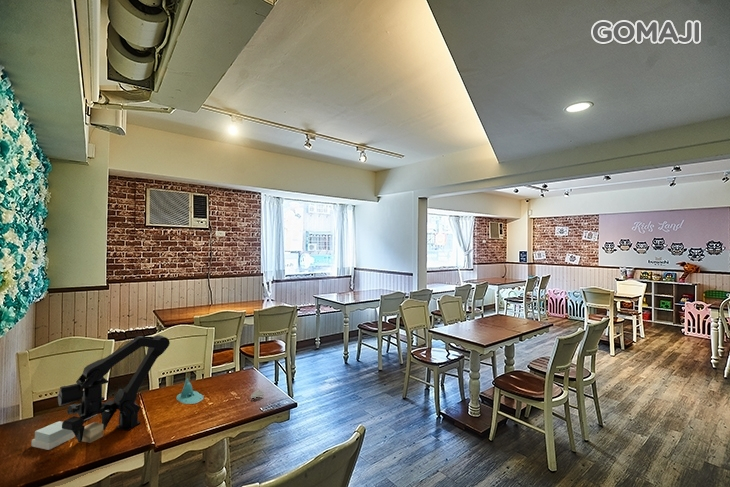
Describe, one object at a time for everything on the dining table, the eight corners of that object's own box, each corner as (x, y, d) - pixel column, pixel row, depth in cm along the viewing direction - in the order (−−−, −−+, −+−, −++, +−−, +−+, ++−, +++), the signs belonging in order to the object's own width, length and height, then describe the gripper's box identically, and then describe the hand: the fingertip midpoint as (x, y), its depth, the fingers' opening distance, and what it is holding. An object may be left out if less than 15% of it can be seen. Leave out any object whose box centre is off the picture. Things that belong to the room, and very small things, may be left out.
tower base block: (74, 438, 136) (74, 431, 136) (48, 451, 127) (49, 443, 127) (57, 435, 138) (58, 427, 138) (31, 447, 129) (31, 439, 129)
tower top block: (72, 432, 135) (72, 424, 135) (48, 442, 128) (49, 434, 128) (59, 428, 138) (59, 421, 138) (34, 438, 130) (35, 431, 130)
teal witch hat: (184, 408, 162) (184, 390, 162) (170, 395, 175) (171, 378, 176) (210, 400, 171) (210, 383, 171) (195, 388, 184) (195, 372, 184)
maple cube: (103, 436, 137) (103, 423, 137) (90, 443, 132) (90, 430, 132) (93, 434, 138) (93, 422, 138) (80, 441, 133) (80, 428, 133)
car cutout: (262, 395, 178) (262, 386, 178) (265, 400, 172) (265, 391, 172) (232, 401, 170) (232, 392, 170) (234, 406, 165) (234, 397, 165)
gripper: (100, 385, 146) (99, 421, 146) (51, 404, 128) (50, 445, 128) (121, 388, 144) (120, 425, 143) (73, 408, 126) (72, 450, 125)
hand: (92, 435), depth 135 cm, fingers open, 9 cm apart
